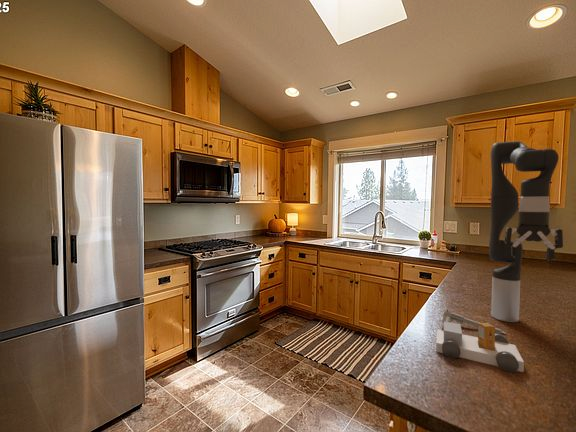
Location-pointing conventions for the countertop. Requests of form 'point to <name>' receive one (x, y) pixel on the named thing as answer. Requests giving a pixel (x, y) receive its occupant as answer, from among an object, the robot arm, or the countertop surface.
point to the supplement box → (486, 336)
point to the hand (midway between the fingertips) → (531, 259)
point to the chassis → (468, 348)
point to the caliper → (464, 320)
